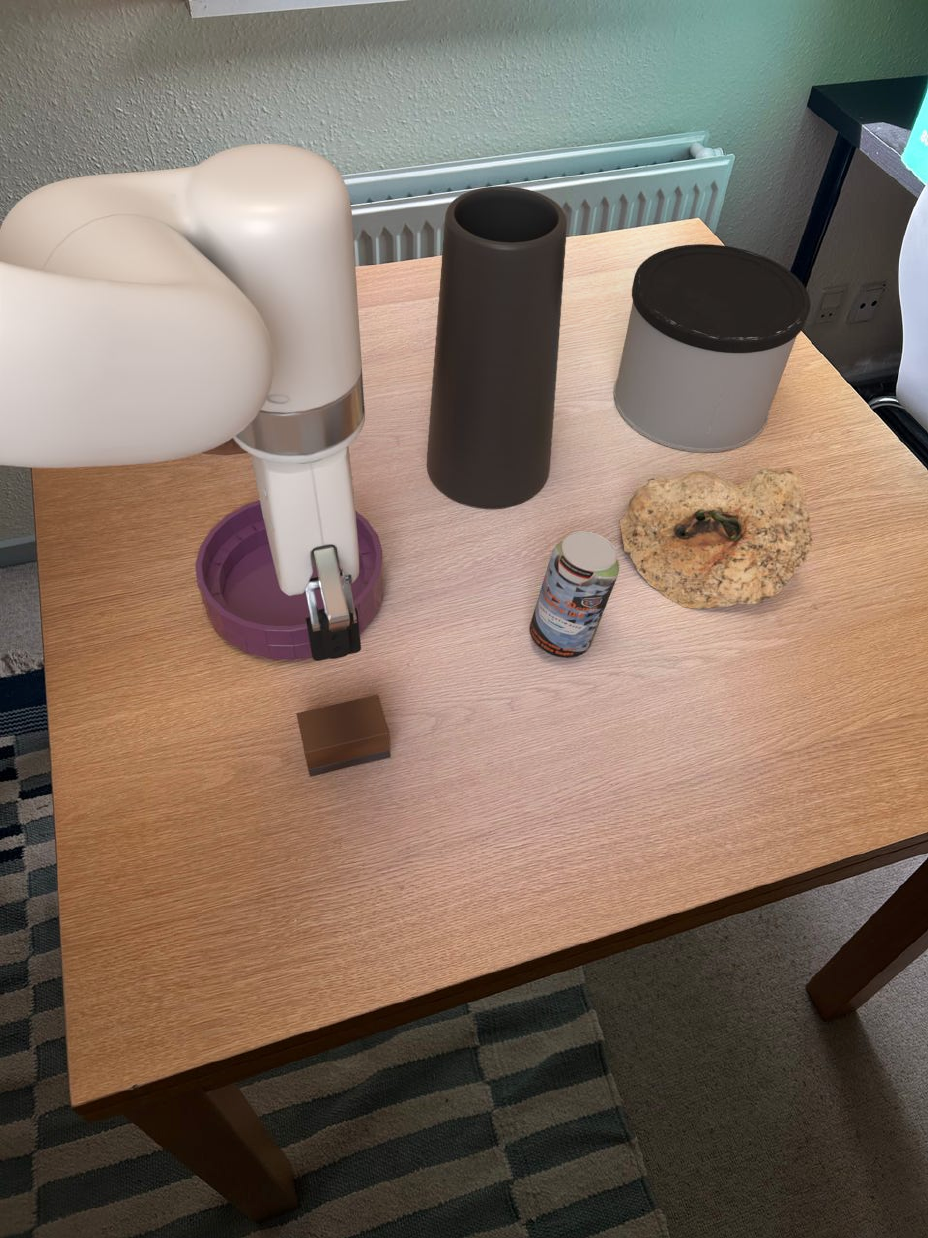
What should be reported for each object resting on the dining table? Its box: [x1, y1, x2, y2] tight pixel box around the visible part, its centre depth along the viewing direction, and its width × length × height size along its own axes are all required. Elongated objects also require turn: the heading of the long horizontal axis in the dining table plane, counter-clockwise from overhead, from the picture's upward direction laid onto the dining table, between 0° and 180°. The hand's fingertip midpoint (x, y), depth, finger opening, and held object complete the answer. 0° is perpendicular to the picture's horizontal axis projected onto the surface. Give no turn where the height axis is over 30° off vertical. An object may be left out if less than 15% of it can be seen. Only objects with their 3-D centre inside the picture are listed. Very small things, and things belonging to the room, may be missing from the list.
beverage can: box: [528, 530, 620, 659], centre depth 83 cm, size 6×7×12 cm
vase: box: [426, 185, 568, 510], centre depth 90 cm, size 14×14×29 cm
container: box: [613, 243, 811, 453], centre depth 104 cm, size 19×19×15 cm
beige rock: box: [619, 466, 814, 610], centre depth 92 cm, size 18×14×8 cm
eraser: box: [295, 694, 392, 778], centre depth 77 cm, size 7×4×4 cm, turn 107°
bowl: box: [195, 499, 385, 661], centre depth 88 cm, size 17×17×5 cm
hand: (322, 598), depth 63 cm, fingers open, 9 cm apart
